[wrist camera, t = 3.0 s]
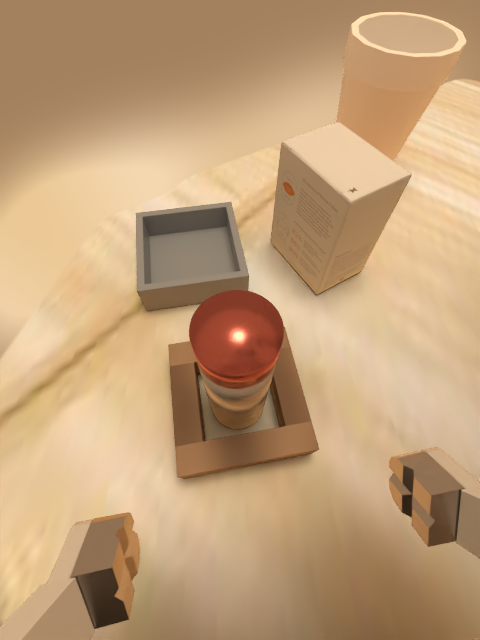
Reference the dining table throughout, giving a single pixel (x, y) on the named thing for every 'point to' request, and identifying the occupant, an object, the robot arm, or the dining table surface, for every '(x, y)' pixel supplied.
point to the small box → (332, 203)
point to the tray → (188, 255)
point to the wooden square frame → (245, 448)
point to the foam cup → (394, 74)
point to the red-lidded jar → (236, 353)
